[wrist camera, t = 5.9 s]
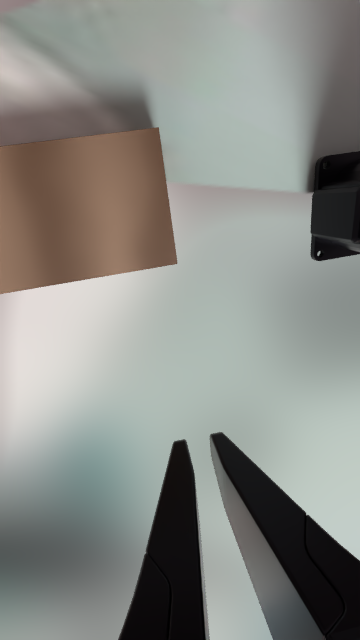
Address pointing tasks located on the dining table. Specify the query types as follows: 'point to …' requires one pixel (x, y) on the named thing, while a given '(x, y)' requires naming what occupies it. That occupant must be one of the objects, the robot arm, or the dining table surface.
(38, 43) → the dining table surface
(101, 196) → the tan flat wooden block
